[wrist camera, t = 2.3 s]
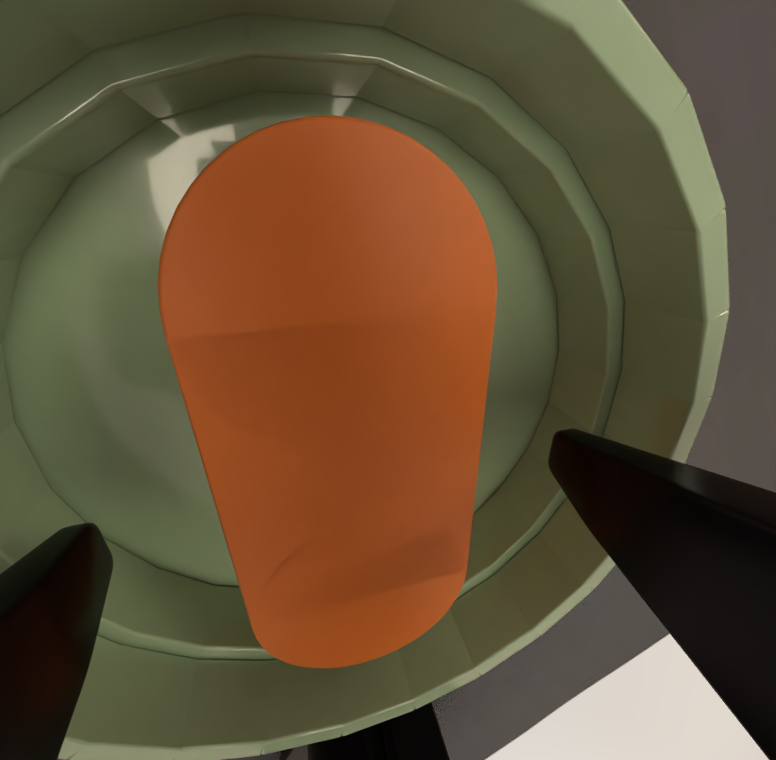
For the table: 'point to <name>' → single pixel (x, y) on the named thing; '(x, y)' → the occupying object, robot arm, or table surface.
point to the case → (334, 377)
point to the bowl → (510, 337)
